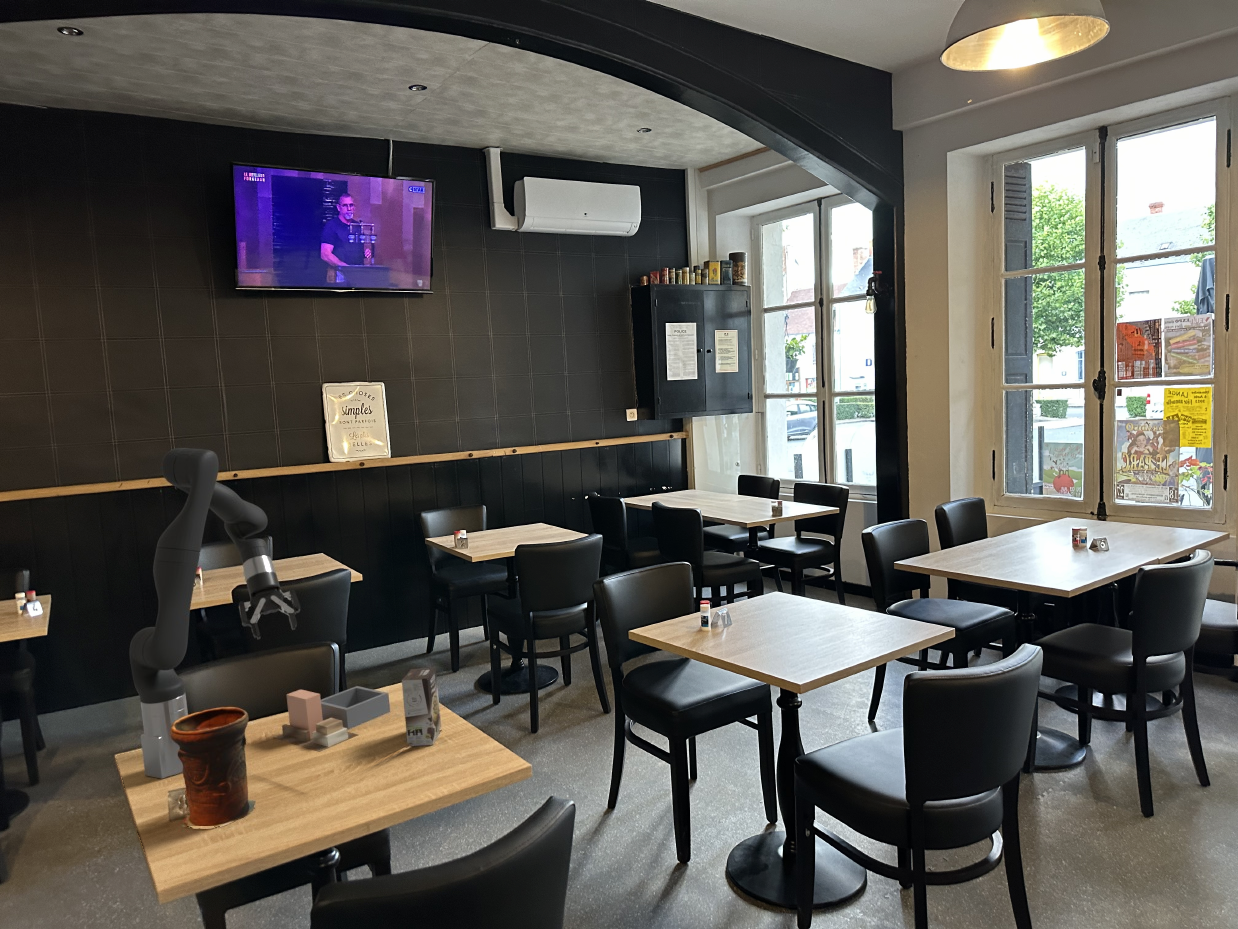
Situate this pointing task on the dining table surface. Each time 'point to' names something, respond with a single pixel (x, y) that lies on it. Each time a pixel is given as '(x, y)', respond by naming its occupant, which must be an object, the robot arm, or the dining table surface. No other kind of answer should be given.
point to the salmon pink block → (304, 710)
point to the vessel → (214, 765)
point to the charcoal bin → (355, 706)
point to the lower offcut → (330, 737)
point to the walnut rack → (303, 738)
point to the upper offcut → (329, 726)
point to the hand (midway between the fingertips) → (276, 633)
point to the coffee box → (421, 706)
